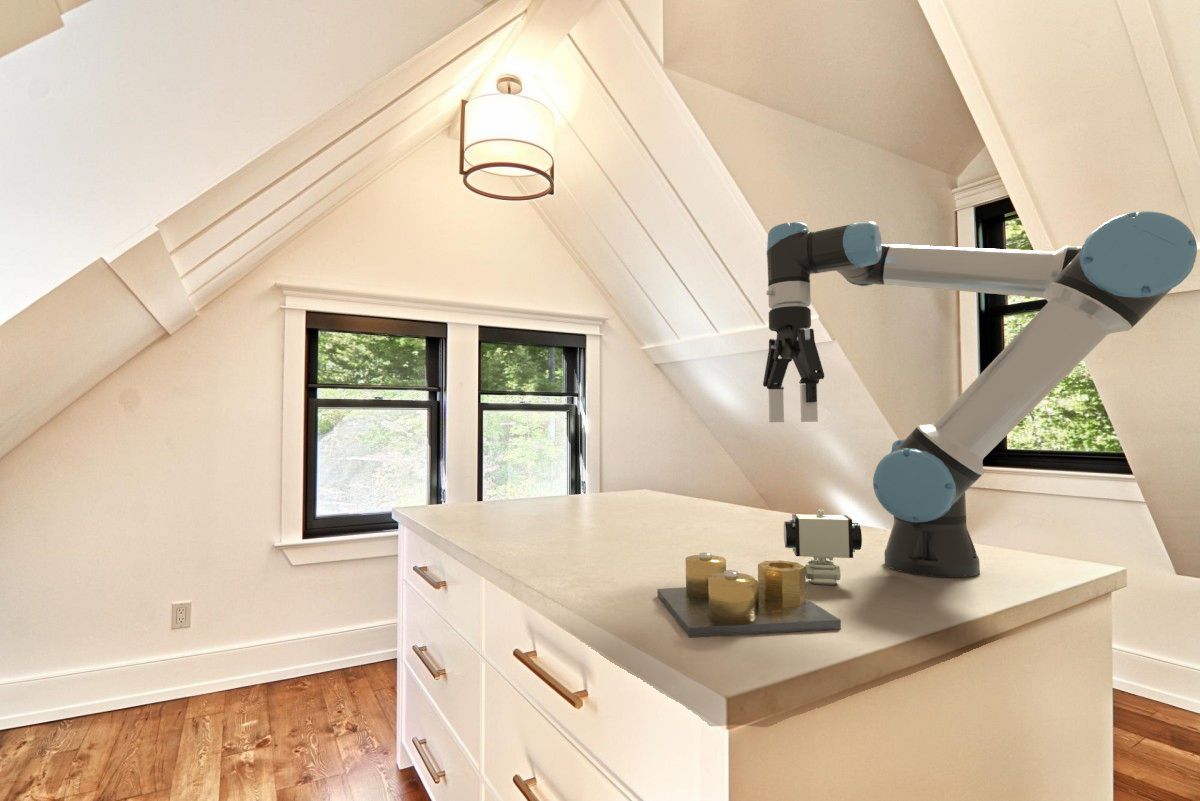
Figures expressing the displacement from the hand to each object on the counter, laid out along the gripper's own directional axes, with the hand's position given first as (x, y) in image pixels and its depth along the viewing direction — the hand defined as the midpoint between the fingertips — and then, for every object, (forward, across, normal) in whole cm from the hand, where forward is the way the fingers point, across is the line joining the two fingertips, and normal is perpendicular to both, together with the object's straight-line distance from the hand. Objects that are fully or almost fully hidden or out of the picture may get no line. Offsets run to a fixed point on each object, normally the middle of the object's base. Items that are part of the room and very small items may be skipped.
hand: (791, 422), depth 110 cm
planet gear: (+26, +23, -13) cm, 37 cm away
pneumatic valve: (+27, +10, 0) cm, 29 cm away
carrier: (+27, +23, -19) cm, 40 cm away
